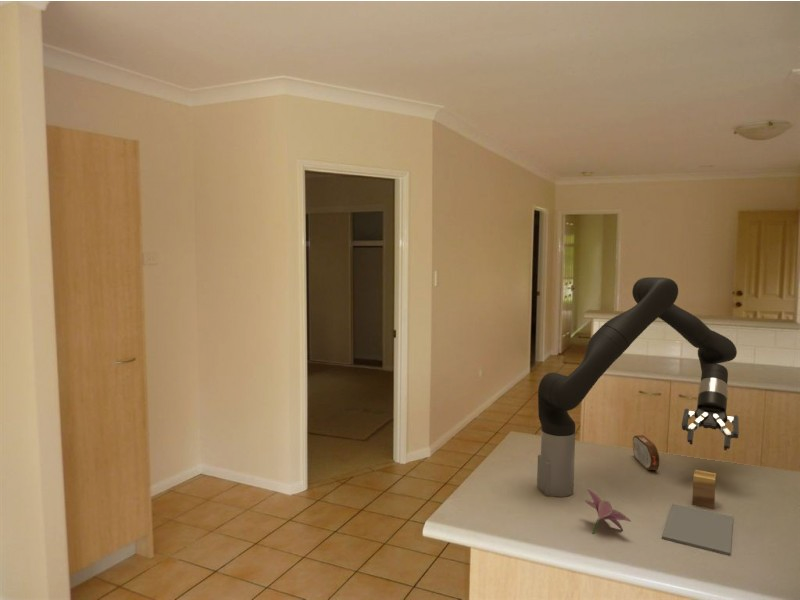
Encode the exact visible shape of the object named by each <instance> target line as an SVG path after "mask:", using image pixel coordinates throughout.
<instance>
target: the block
mask: <svg viewBox="0 0 800 600" xmlns="http://www.w3.org/2000/svg"><path fill="white" fill-rule="evenodd" d="M716 479H717V473H715V472H709V471H704V470H700V469H695V470H694V473H693V479H692V480H693V481H692V483H693V484H692V501H691V505H692V506H695V505H696V506H695V507H700V508H705V509H711V510H714V508H715V503H714V502H715V501H716V484H717V483H716V481H717V480H716Z"/></svg>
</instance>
